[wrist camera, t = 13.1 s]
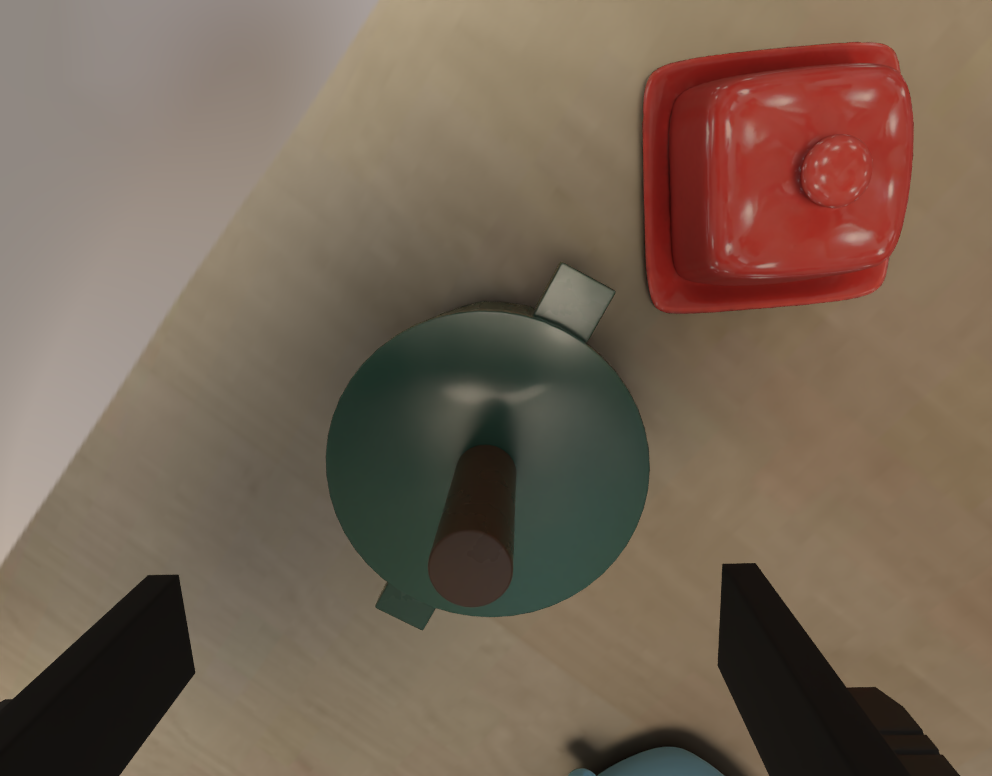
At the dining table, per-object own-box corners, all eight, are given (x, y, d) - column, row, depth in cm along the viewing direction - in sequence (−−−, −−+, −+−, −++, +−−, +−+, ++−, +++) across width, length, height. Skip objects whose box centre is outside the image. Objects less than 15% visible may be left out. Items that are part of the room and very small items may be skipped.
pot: (332, 492, 35) (273, 570, 27) (471, 212, 32) (452, 202, 23) (516, 583, 36) (513, 686, 28) (673, 321, 32) (724, 350, 24)
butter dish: (875, 296, 32) (999, 317, 23) (641, 314, 32) (682, 340, 24) (888, 45, 29) (1034, -33, 21) (634, 69, 30) (677, 4, 21)
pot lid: (286, 519, 27) (178, 646, 19) (416, 248, 24) (359, 253, 16) (548, 648, 28) (559, 826, 20) (704, 401, 25) (796, 484, 17)
